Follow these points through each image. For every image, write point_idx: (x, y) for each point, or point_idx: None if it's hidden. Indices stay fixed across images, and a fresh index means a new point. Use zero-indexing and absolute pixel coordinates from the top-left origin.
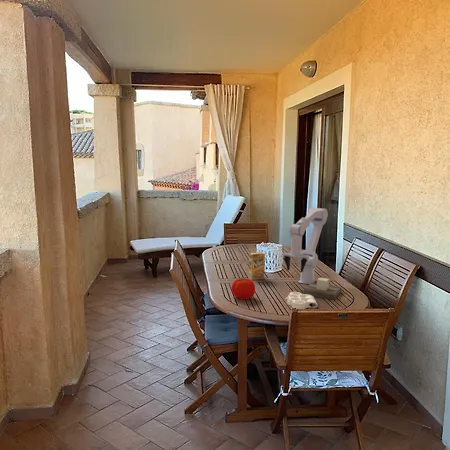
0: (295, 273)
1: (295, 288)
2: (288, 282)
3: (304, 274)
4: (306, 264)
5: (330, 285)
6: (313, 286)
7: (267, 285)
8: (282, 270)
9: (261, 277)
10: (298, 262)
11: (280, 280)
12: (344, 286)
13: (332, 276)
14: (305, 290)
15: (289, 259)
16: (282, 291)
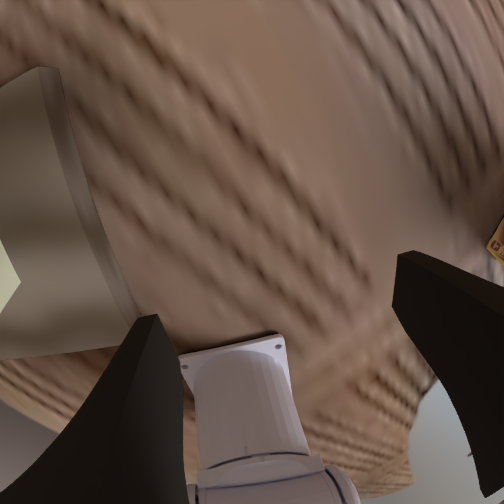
0: (355, 422)
1: (217, 184)
2: (344, 291)
3: (245, 405)
4: (254, 494)
5: (16, 357)
6: (46, 255)
7: (444, 109)
8: (415, 405)
9: (501, 232)
10: (344, 479)
11: None
12: (51, 415)
13: (194, 474)
14: (21, 75)
15: (497, 435)
16: (271, 11)
